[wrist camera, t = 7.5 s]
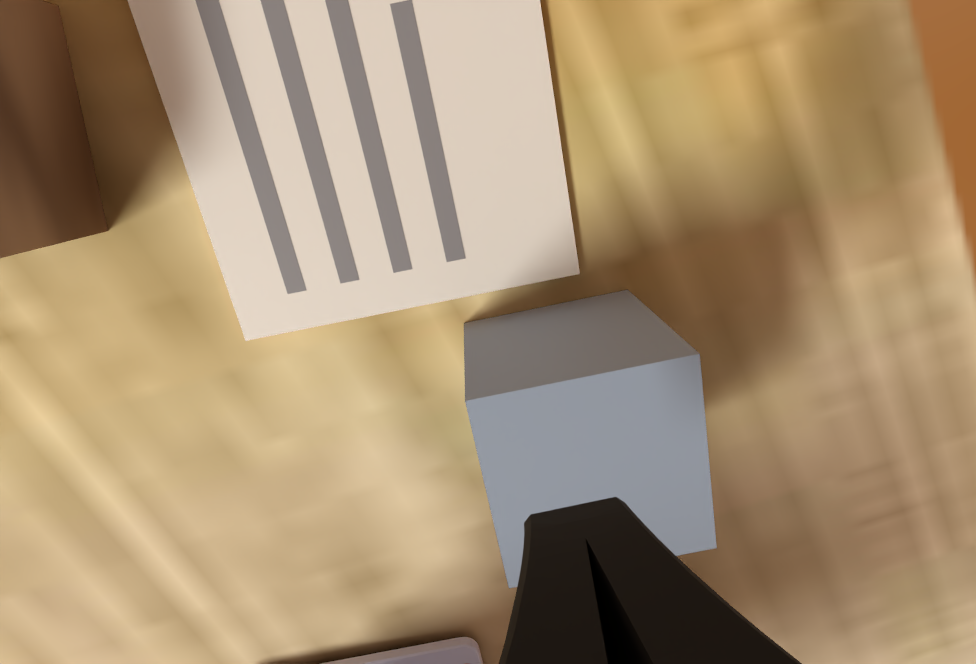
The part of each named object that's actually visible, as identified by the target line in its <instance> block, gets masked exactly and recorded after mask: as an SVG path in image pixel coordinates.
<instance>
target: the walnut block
mask: <svg viewBox="0 0 976 664" xmlns="http://www.w3.org/2000/svg"><path fill="white" fill-rule="evenodd" d="M106 231H108V228H107V224H106V219H105V215H104V210H103V205H102V201H101V196H100V192H99V187H98V183H97V178H96V174H95V169H94V165H93V160H92V156H91V151H90V147H89V142H88V138H87V133H86V129H85V124H84V120H83V115H82V110H81V106H80V101H79V97H78V92H77V88H76V83H75V79H74V74H73V70H72V65H71V61H70V56H69V52H68V47H67V43H66V38H65V34H64V29H63V25H62V20H61V16H60V11H59V6H57V5H54V4H51V3H48V2H45V1H42V0H0V258H2V257H6V256H10V255H14V254H18V253H22V252H26V251H30V250H34V249H38V248H42V247H46V246H50V245H54V244H58V243H62V242H66V241H70V240H74V239H78V238H82V237H86V236H90V235H94V234H98V233H102V232H106Z"/></svg>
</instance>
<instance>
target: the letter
mask: <svg viewBox="0 0 976 664" xmlns="http://www.w3.org/2000/svg"><path fill="white" fill-rule="evenodd" d="M127 1H128V4H129V7H130V9H131V12H132V15H133V18H134V21H135V24H136V27H137V30H138V32H139V35H140V38H141V41H142V44H143V47H144V50H145V53H146V55H147V58H148V61H149V64H150V67H151V70H152V73H153V76H154V78H155V81H156V84H157V87H158V90H159V93H160V96H161V99H162V101H163V104H164V107H165V110H166V113H167V116H168V119H169V122H170V125H171V127H172V130H173V133H174V136H175V139H176V142H177V145H178V148H179V150H180V153H181V156H182V159H183V162H184V165H185V168H186V171H187V173H188V176H189V179H190V182H191V185H192V188H193V191H194V194H195V196H196V199H197V202H198V205H199V208H200V211H201V214H202V217H203V219H204V222H205V225H206V228H207V231H208V234H209V237H210V240H211V242H212V245H213V248H214V251H215V254H216V257H217V260H218V263H219V265H220V268H221V271H222V274H223V277H224V280H225V283H226V286H227V288H228V291H229V294H230V297H231V300H232V303H233V306H234V309H235V312H236V314H237V317H238V320H239V323H240V326H241V329H242V332H243V335H244V337H245V340H246V341H247V340H252V339H257V338H262V337H267V336H272V335H277V334H282V333H287V332H292V331H297V330H302V329H307V328H312V327H317V326H322V325H327V324H332V323H337V322H342V321H347V320H352V319H357V318H362V317H367V316H372V315H377V314H382V313H387V312H392V311H397V310H402V309H407V308H412V307H417V306H422V305H427V304H432V303H437V302H442V301H447V300H452V299H457V298H462V297H467V296H472V295H477V294H482V293H487V292H492V291H497V290H502V289H507V288H512V287H517V286H522V285H527V284H532V283H537V282H542V281H547V280H552V279H557V278H562V277H567V276H572V275H577V274H580V271H579V264H578V257H577V250H576V243H575V236H574V229H573V223H572V216H571V209H570V202H569V195H568V188H567V182H566V175H565V168H564V161H563V154H562V147H561V140H560V134H559V127H558V120H557V113H556V106H555V99H554V93H553V86H552V79H551V72H550V65H549V58H548V51H547V45H546V38H545V31H544V24H543V17H542V10H541V4H540V0H127Z"/></svg>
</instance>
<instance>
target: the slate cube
mask: <svg viewBox="0 0 976 664" xmlns="http://www.w3.org/2000/svg"><path fill="white" fill-rule="evenodd" d="M464 360H465V402H466V407H467V411H468V415H469V419H470V424H471V428H472V432H473V437H474V441H475V445H476V449H477V454H478V458H479V462H480V467H481V471H482V475H483V479H484V484H485V488H486V492H487V497H488V501H489V505H490V509H491V514H492V518H493V522H494V527H495V531H496V535H497V539H498V544H499V548H500V552H501V557H502V561H503V565H504V570H505V574H506V578H507V582H508V587H509V588H514V587H518V581H519V576H520V570H521V563H522V556H523V546H524V522H525V521H526V520H527V518H528V517H529V516H530V514H535V513H540V512H545V511H550V510H554V509H559V508H564V507H569V506H574V505H578V504H583V503H588V502H593V501H597V500H602V499H607V498H612V497H617V498H619V499H620V500H622V501H624V502H625V503H626V504H627V505H628V507H629V508H630V509H631V510H632V511H633V512H634V513H635V515H636V516H637V517H638V518H639V519H640V520H641V521H642V522H643V523H644V524H645V525H646V526H647V528H648V529H649V530H650V531H651V532H652V533H653V534H654V535H655V536H656V537H657V538H658V539H659V540H660V541H661V542H662V543H663V544H664V545H665V546H666V547H667V548H668V549H669V550H670V551H671V552H672V553H673V554H674V555H675V556H678V555H684V554H689V553H694V552H699V551H704V550H709V549H714V548H717V546H716V534H715V523H714V512H713V500H712V489H711V477H710V466H709V454H708V443H707V431H706V420H705V409H704V397H703V386H702V374H701V363H700V354H699V353H698V352H697V351H696V350H695V349H694V348H693V347H692V346H690V345H689V344H688V343H687V342H686V341H685V340H684V339H683V338H681V337H680V336H679V335H678V334H677V333H676V332H675V331H674V330H672V329H671V328H670V327H669V326H668V325H667V324H666V323H665V322H663V321H662V320H661V319H660V318H659V317H658V316H657V315H656V314H654V313H653V312H652V311H651V310H650V309H649V308H648V307H647V306H645V305H644V304H643V303H642V302H641V301H640V300H639V299H638V298H636V297H635V296H634V295H633V294H632V293H631V292H630V291H629V290H624V291H619V292H614V293H609V294H604V295H599V296H594V297H589V298H584V299H580V300H575V301H570V302H565V303H560V304H555V305H550V306H545V307H540V308H536V309H531V310H526V311H521V312H516V313H511V314H506V315H501V316H496V317H491V318H487V319H482V320H477V321H472V322H467V323H464Z"/></svg>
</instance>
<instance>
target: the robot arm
mask: <svg viewBox="0 0 976 664" xmlns="http://www.w3.org/2000/svg"><path fill="white" fill-rule="evenodd" d="M465 663H470V664H483V661H482V657H481V653H480V649H479V646H478V644H477V642H476V641H475V640H473V639H472V638H469V637H458V638H453V639H448V640H442V641H437V642H432V643H427V644H421V645H416V646H411V647H406V648H400V649H395V650H390V651H384V652H379V653H374V654H369V655H363V656H358V657H353V658H347V659H342V660H337V661H332V662H326V663H321V664H465ZM499 664H802V663H800V662H799V661H798V660H796V659H795V658H794V657H793V656H791V655H790V654H789V653H788V652H786V651H785V650H784V649H783V648H781V647H780V646H779V645H778V644H776V643H775V642H774V641H773V640H771V639H770V638H769V637H768V636H766V635H765V634H764V633H763V632H761V631H760V630H759V629H758V628H756V627H755V626H754V625H753V624H752V623H751V622H749V621H748V620H747V619H746V618H745V617H743V616H742V615H741V614H740V613H739V612H737V611H736V610H735V609H734V608H733V607H732V606H730V605H729V604H728V603H727V602H726V601H725V600H724V599H723V598H721V597H720V596H719V595H718V594H717V593H716V592H715V591H714V590H712V589H711V588H710V587H709V586H708V585H707V584H706V583H705V582H704V581H702V580H701V579H700V578H699V577H698V576H697V575H696V574H695V573H693V572H692V571H691V570H690V569H689V568H688V567H687V566H686V565H685V564H684V563H683V562H682V561H681V560H680V559H679V558H677V557H676V556H675V555H674V554H673V553H672V552H671V551H670V550H669V549H668V548H667V547H666V546H665V545H664V544H663V543H662V542H661V541H660V540H659V539H658V538H657V537H656V536H655V535H654V534H653V533H652V532H651V531H650V530H649V529H648V528H647V526H646V525H645V524H644V523H643V522H642V521H641V520H640V519H639V518H638V517H637V516H636V515H635V513H634V512H633V511H632V510H631V509H630V508H629V507H628V505H627V504H626V503H625V502H624V501H622V500H620V499H619V498H617V497H612V498H607V499H602V500H597V501H593V502H588V503H583V504H578V505H574V506H569V507H564V508H559V509H554V510H550V511H545V512H540V513H535V514H530V516H529V517H528V518H527V520H526V521H525V522H524V546H523V556H522V563H521V570H520V576H519V581H518V587H517V592H516V597H515V601H514V605H513V610H512V614H511V619H510V623H509V627H508V632H507V636H506V640H505V644H504V648H503V651H502V655H501V658H500V662H499Z"/></svg>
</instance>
